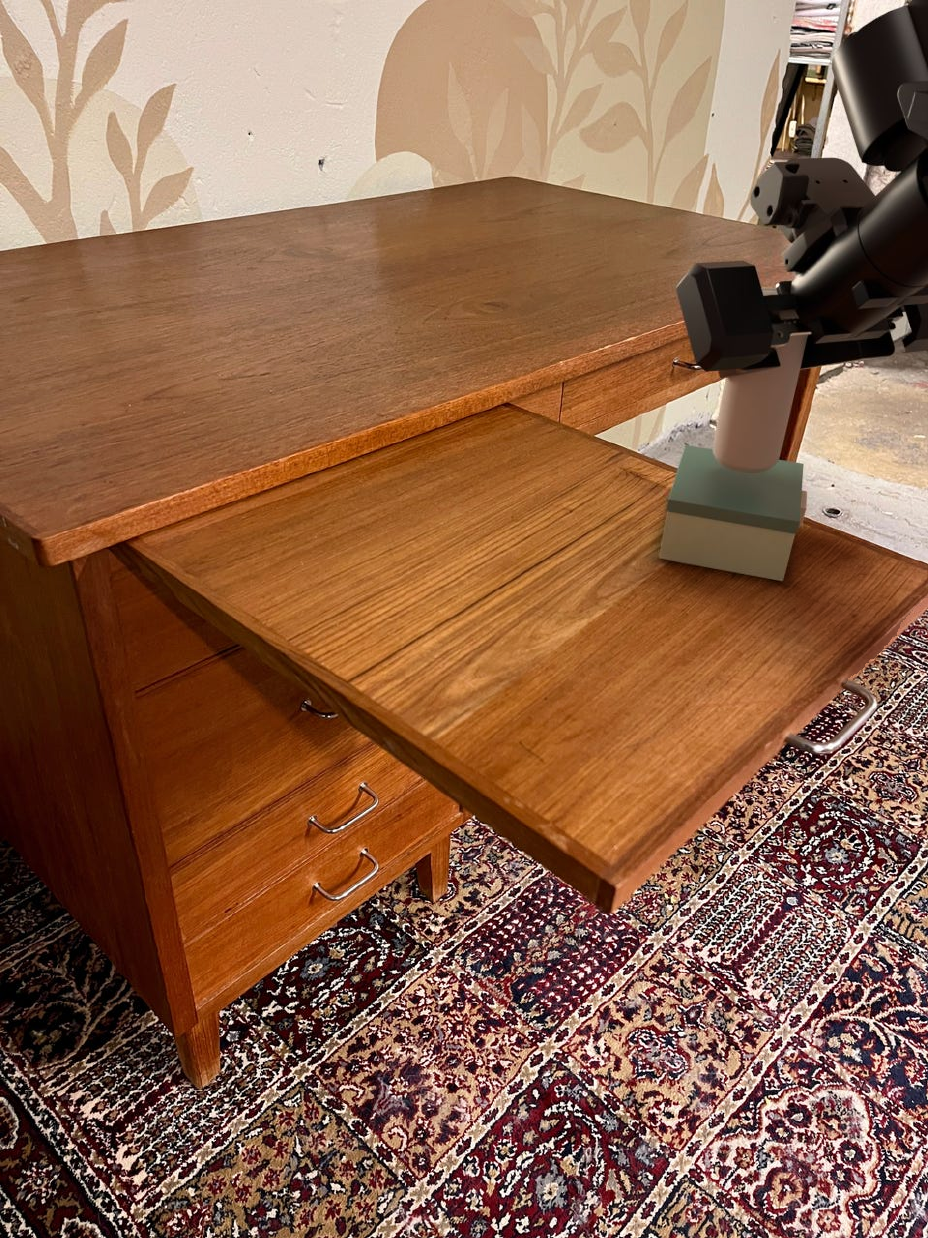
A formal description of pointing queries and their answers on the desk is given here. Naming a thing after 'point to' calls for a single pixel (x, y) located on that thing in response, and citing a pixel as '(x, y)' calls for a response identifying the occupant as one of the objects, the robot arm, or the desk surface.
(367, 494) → the desk surface
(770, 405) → the beverage can
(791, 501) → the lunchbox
